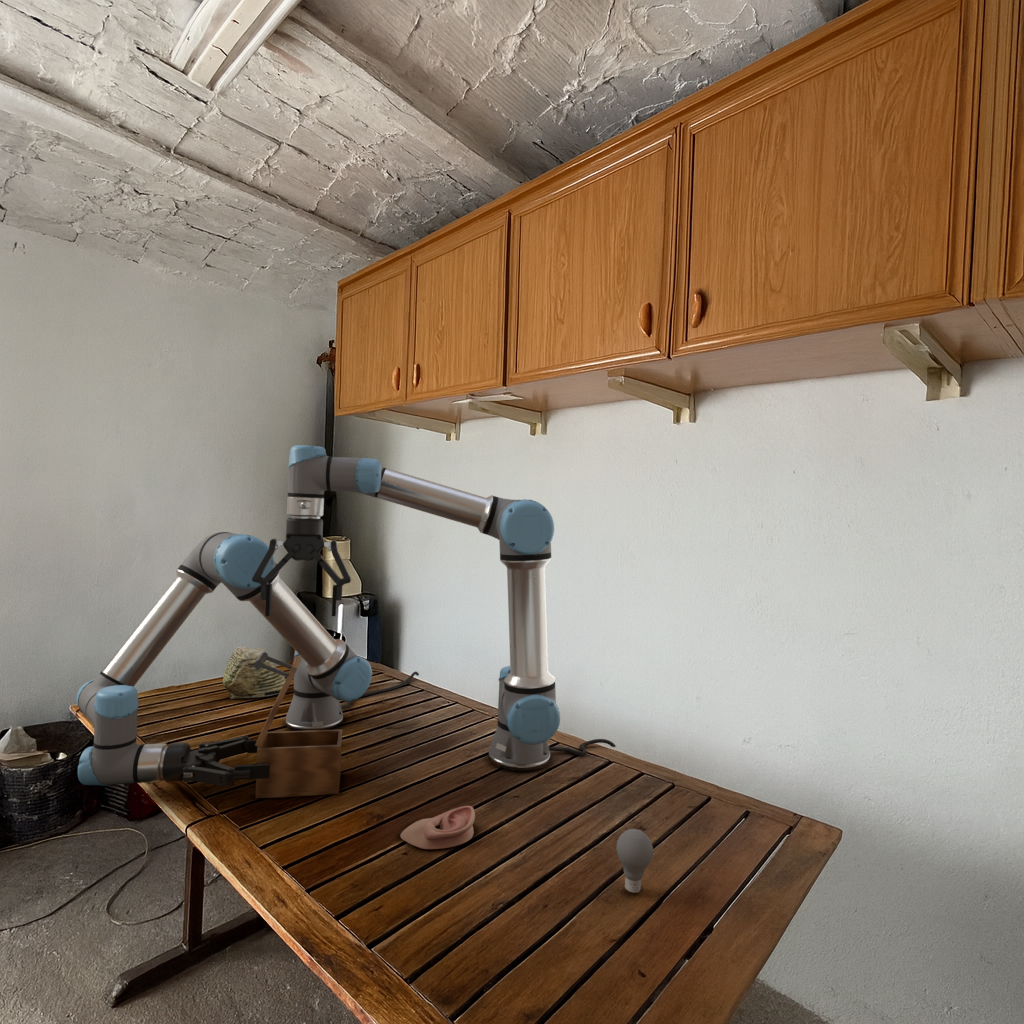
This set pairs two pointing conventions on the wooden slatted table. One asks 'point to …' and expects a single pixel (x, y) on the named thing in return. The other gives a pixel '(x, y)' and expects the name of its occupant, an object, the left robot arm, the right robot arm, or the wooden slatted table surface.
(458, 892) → the wooden slatted table surface
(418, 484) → the right robot arm
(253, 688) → the fossil
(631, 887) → the light bulb
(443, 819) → the anatomical model
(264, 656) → the lid
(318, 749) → the chest
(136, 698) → the left robot arm
